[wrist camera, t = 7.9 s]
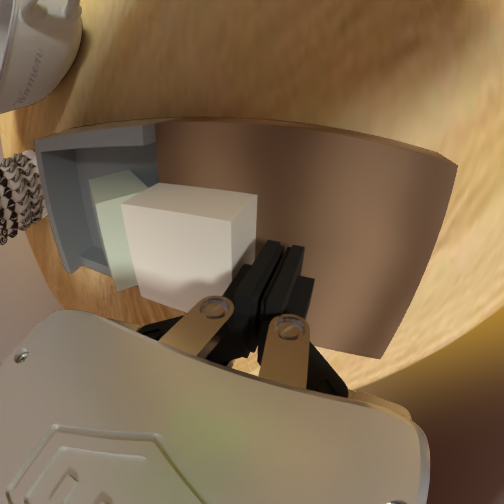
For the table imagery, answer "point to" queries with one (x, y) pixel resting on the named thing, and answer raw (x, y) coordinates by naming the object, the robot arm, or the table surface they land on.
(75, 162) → the box
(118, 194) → the sage tile
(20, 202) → the decorative candle
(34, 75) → the teacup
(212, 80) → the table surface
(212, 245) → the white tile
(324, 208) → the walnut wavy ramp
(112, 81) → the table surface
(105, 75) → the table surface
